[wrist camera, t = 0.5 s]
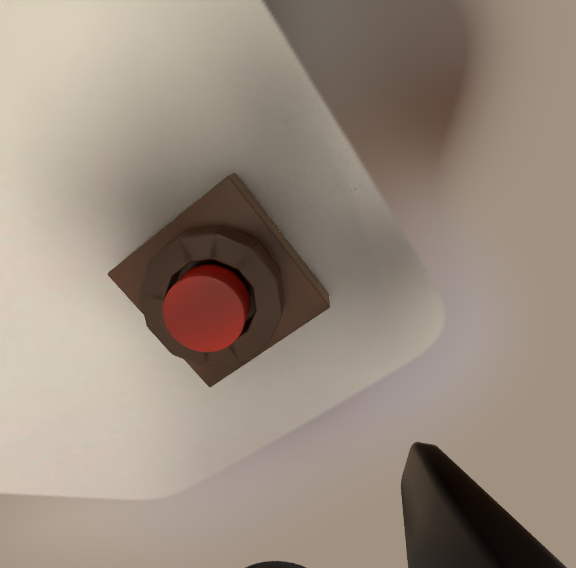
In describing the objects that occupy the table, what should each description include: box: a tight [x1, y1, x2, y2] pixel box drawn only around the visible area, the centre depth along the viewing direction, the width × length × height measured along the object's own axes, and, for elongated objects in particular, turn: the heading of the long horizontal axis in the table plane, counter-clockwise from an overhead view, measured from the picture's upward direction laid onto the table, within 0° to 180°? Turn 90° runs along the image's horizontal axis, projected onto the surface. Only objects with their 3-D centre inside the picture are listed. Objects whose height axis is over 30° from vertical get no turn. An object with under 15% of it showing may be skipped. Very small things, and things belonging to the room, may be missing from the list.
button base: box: [108, 173, 330, 387], centre depth 23 cm, size 8×8×4 cm
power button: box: [163, 264, 250, 352], centre depth 20 cm, size 4×4×2 cm
